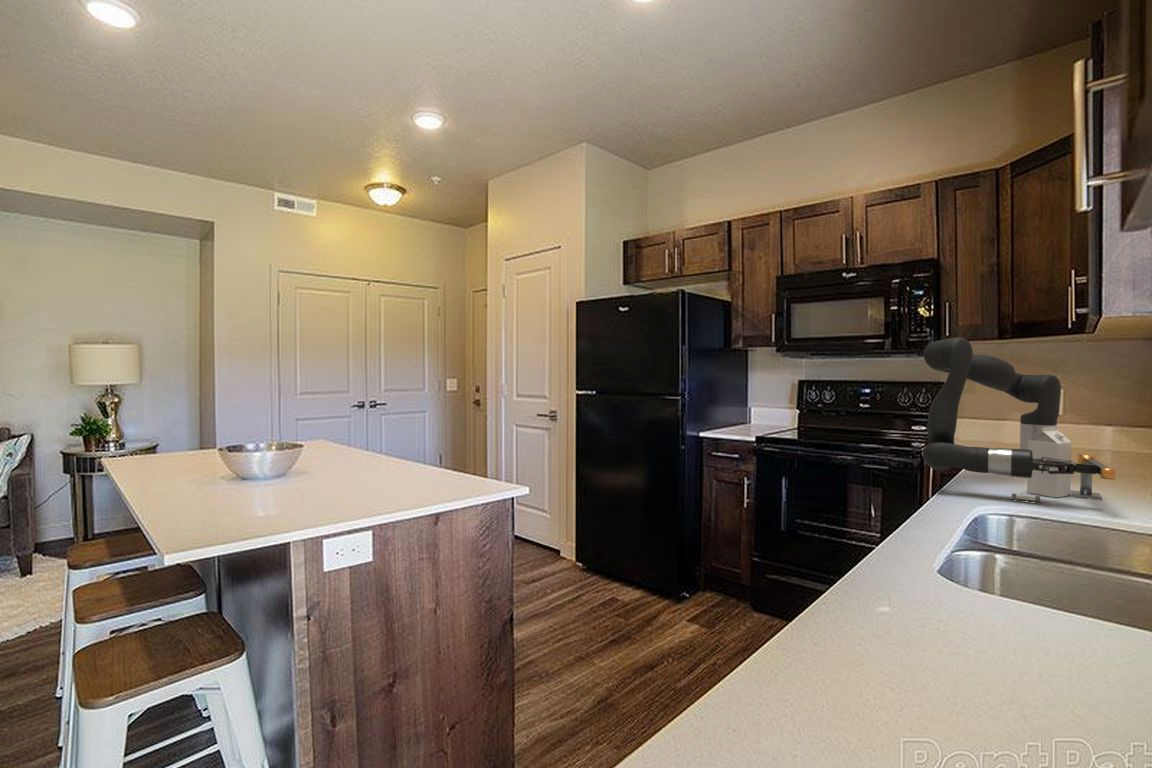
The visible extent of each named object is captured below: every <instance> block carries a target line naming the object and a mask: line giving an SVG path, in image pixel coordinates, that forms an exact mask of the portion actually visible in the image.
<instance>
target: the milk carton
mask: <svg viewBox="0 0 1152 768" xmlns="http://www.w3.org/2000/svg"><path fill="white" fill-rule="evenodd" d="M1028 450H1031V451H1032V457H1033V459H1042V457H1049V458H1053V459H1063V460H1067V461H1072V441H1071V440H1070V439H1069V438H1067V437H1066V435H1064V434H1063V433H1062V432H1061V431H1059V430H1058V425H1057V426H1055V427H1043V428H1042V432H1041V433H1039V434H1037V435H1036V436H1034V437H1033V438H1031V439H1030V440H1028ZM1066 467H1067V466H1066ZM1066 467H1065V468H1066ZM1071 479H1072V474H1043V473H1042V472H1041V471H1037V470H1033V471H1032V477H1031V478H1026V493H1027V492H1028V493H1027V494H1032V495H1037V496H1044V497H1045V496H1046V497H1051V498H1056V497H1057V498H1061V497H1067V496H1068V495H1069V496H1071V484H1072V483H1071V481H1072V480H1071Z"/></svg>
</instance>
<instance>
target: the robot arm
mask: <svg viewBox="0 0 1152 768" xmlns="http://www.w3.org/2000/svg"><path fill="white" fill-rule="evenodd" d="M973 351H974V350H973V346H972V344H971V343H970V341H969V340H968V339H966V338H965V337H962V336H961V337H952V338H946V339H940V340H935V341H933V342H931V343H928V344H927V345H926V346H925V348H924V349H923V360H924V361H925V363H926V365H928V367H929V368H931V369H933V370H935V371H937V372H943V373H947V378H946V380H945V382H944V384H943V385H942V387H941V389H940V390H939V391H938V393H937V394H936V395H935V397H934V398H933V400H932V402H931V404H930V406H929V411H928V415H927V416H928V418H927V425H926V426H927V430H926V431H927V436H928V437H927V445H925V447H924V448H923V449H922V458H923V460H924V462H925V463H926V464H927V466H928V467H929V468H931V469H933V470H935V471H945V470H947V469H949V468H955V469H963V470H965V471H967V472H972V473H978V474H979V473H981V474H991V475H997V476H1004V477H1011V478H1012V477H1014V478H1024V479H1027V478H1031V477H1032V471H1033V470H1037V471H1041V472H1042V473H1043V474H1071V475H1074V474H1077V473H1079V474H1081V473H1088V474H1092V475H1096V474H1097V466H1096V465H1093V464H1080V463H1078V462H1076V461H1072V460H1071V461H1067V460H1063V459H1053V458H1049V457H1042V459H1033V457H1032V451H1031V450H1028V440H1030V439H1031V438H1033V437H1034V436H1036V435H1037V434H1039V433H1041V432H1042V428H1043V427H1055V426H1057V427H1058V418H1059V416H1060V409H1061V408H1060V406H1061V395H1062V386H1061V381H1060V380H1059V378H1058V377H1057V376H1055V375H1052V374H1023V373H1019V372H1016V369H1015V368H1014V366H1013V365H1012V364H1011V363H1009V362H1008V361H1006V360H1003V359H1001V358H998V357H997V356H992V355H988V354H987V355H986V354H977V353H976V354H975V353H973ZM967 380H969V381H972V382H975V383H978V384H980V385H982V386H985V387H987V388H991V389H993V390H997V391H1000V392H1003V393H1006V394H1008V396H1009V395H1010V396H1011V397H1013V398H1014V399H1017V400H1018V401H1021V402H1024V403H1028V404H1029V403H1031V404H1037V407H1036V409H1034V410H1033V411H1031V412H1027V413H1023V414H1021V415H1020V417H1019V418H1020V419H1019V421H1020V422H1019V448H1009V447H1007V448H1006V447H985V446H984V447H983V446H980V447H979V446H966V445H960V444H956V443H955V434H956V430H957V423H958V421H957V420H958V411H959V405H960V401H961V397H962V393H963V391H964V388H965V385H966V382H967ZM1066 466H1067V467H1066ZM1065 467H1066V468H1065Z"/></svg>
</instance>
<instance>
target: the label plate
mask: <svg viewBox="0 0 1152 768" xmlns="http://www.w3.org/2000/svg"><path fill="white" fill-rule="evenodd" d="M1011 500H1017V501H1016V502H1018V501H1028V502H1035V503H1041V495H1033V494H1032V495H1031V494H1021V493H1013V492H1012V493H1011ZM1035 503H1034V504H1035Z"/></svg>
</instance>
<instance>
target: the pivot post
mask: <svg viewBox="0 0 1152 768" xmlns="http://www.w3.org/2000/svg"><path fill="white" fill-rule="evenodd" d="M1079 478H1080V480H1079V482H1080V483H1079V484H1080V485H1079V486H1080V487H1079V490H1072V489H1070V496H1071V497H1072V496H1075V497H1074V498H1078V497H1084V498H1083V499H1088V498H1092V499H1091V500H1097V499H1101V500H1100V501H1102V500H1103V497H1102V495H1101V493H1100V492H1093V489H1092V488H1093V474H1088V473H1080V477H1079Z"/></svg>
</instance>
